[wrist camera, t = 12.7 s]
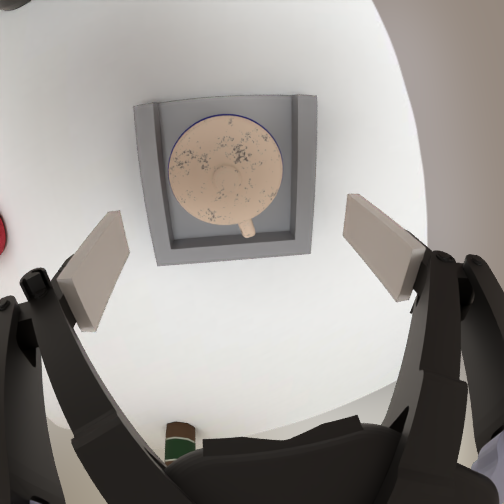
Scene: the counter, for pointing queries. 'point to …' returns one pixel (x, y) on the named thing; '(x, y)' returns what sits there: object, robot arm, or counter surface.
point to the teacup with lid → (226, 170)
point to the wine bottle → (2, 237)
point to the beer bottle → (178, 441)
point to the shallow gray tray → (266, 223)
